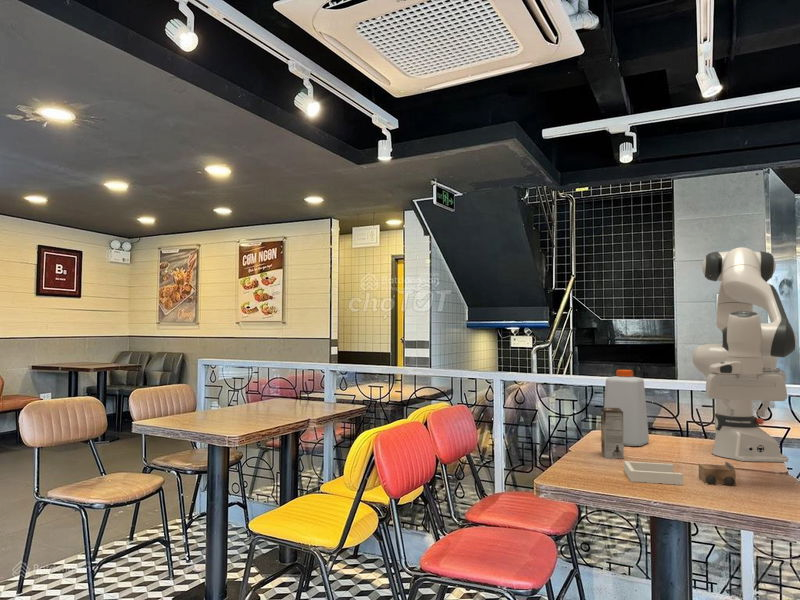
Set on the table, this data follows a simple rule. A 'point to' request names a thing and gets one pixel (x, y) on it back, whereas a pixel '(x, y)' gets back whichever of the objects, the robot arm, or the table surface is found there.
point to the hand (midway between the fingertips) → (745, 415)
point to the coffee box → (612, 433)
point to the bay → (652, 473)
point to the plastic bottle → (629, 405)
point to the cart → (717, 474)
